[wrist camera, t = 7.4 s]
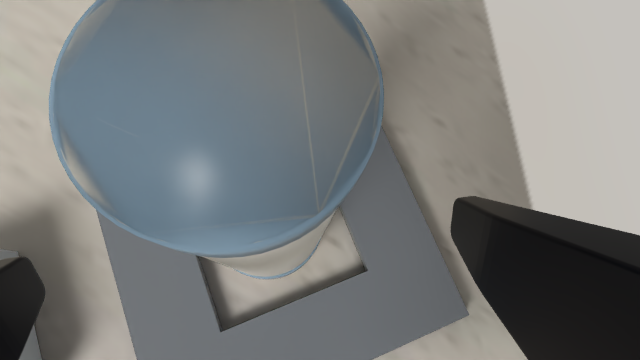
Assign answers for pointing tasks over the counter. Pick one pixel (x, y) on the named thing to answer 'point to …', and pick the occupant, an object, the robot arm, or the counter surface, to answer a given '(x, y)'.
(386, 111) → the counter surface
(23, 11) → the counter surface
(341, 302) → the port plate
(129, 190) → the cartridge
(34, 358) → the block
